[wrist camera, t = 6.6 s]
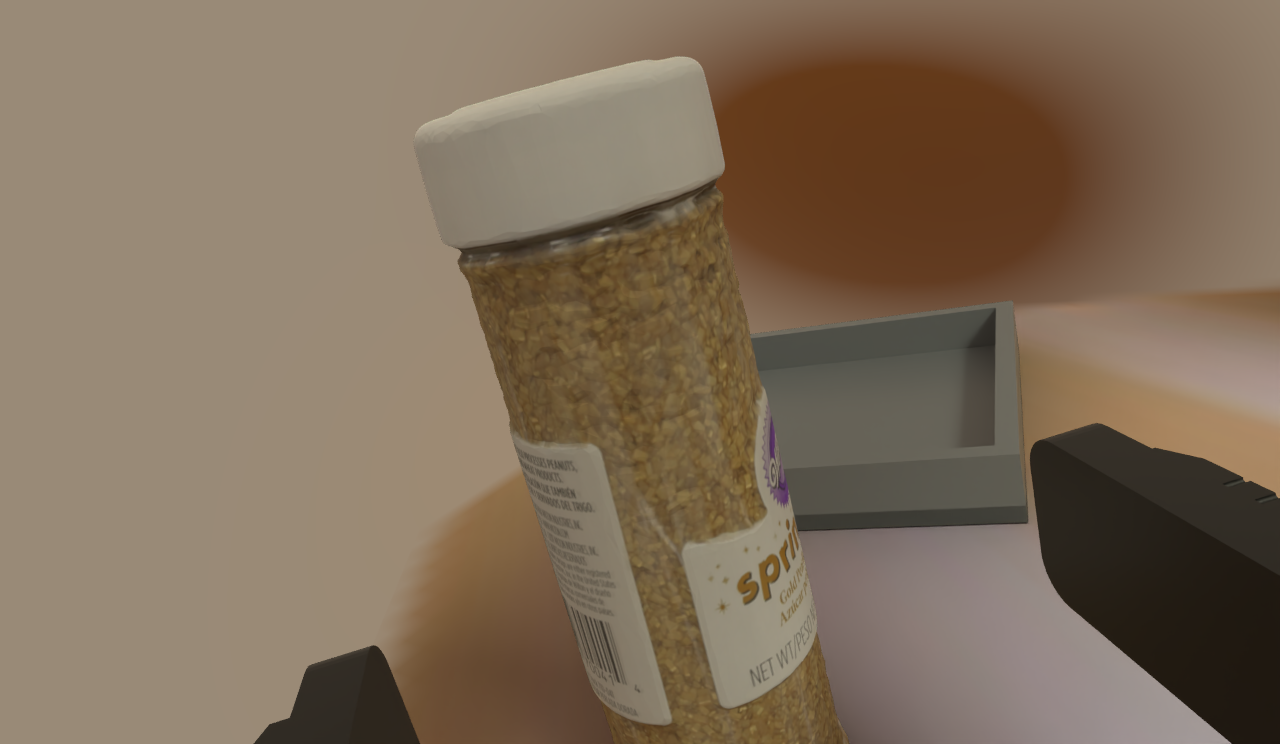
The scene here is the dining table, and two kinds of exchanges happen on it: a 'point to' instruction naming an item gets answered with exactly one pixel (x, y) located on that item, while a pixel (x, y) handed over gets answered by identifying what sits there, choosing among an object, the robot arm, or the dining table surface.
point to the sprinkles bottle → (637, 399)
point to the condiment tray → (899, 418)
